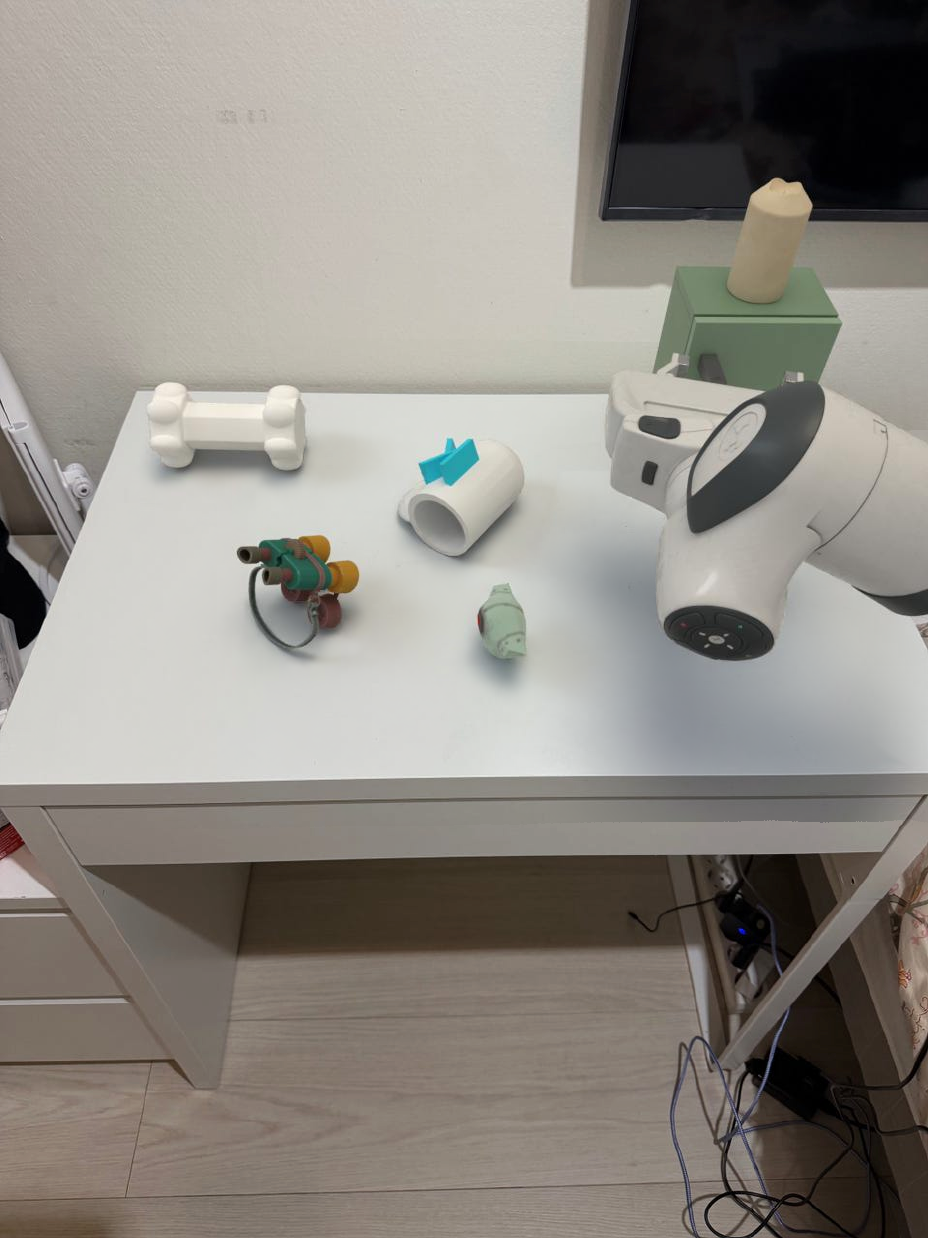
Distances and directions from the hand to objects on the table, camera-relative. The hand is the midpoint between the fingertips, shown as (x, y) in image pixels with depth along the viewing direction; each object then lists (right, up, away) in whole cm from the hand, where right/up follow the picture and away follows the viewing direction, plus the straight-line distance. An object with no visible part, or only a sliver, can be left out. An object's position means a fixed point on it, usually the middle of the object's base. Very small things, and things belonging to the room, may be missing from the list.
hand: (734, 369), depth 72 cm
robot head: (-20, -24, +3) cm, 32 cm away
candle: (+5, +11, +11) cm, 17 cm away
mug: (-24, -10, +15) cm, 30 cm away
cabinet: (+5, 0, +24) cm, 25 cm away
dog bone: (-48, -4, +19) cm, 52 cm away
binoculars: (-38, -21, +5) cm, 43 cm away
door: (+5, -6, +19) cm, 21 cm away
